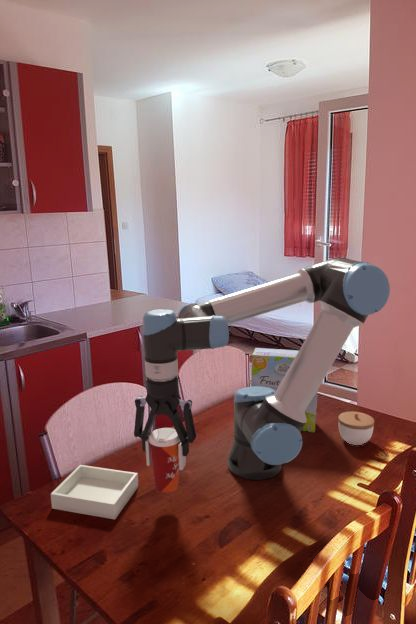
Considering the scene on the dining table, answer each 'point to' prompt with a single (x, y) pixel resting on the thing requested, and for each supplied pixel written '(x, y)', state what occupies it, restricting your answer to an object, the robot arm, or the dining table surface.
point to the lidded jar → (355, 427)
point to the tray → (95, 491)
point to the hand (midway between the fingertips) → (166, 464)
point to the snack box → (278, 376)
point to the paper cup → (165, 459)
